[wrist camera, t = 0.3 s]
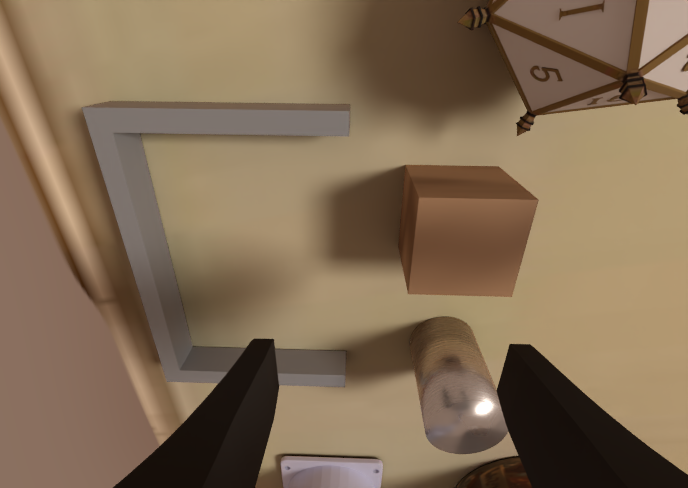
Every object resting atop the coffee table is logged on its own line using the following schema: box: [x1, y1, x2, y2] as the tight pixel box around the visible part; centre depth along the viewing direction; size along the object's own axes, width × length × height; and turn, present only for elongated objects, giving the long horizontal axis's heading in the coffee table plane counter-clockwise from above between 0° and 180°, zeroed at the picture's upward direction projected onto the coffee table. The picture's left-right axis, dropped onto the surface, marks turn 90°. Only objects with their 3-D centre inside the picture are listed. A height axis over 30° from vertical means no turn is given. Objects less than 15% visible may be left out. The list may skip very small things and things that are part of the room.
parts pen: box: [82, 101, 350, 387], centre depth 20 cm, size 16×11×2 cm
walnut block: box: [398, 165, 538, 297], centre depth 17 cm, size 4×4×4 cm
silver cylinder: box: [410, 317, 508, 454], centre depth 20 cm, size 4×4×6 cm
